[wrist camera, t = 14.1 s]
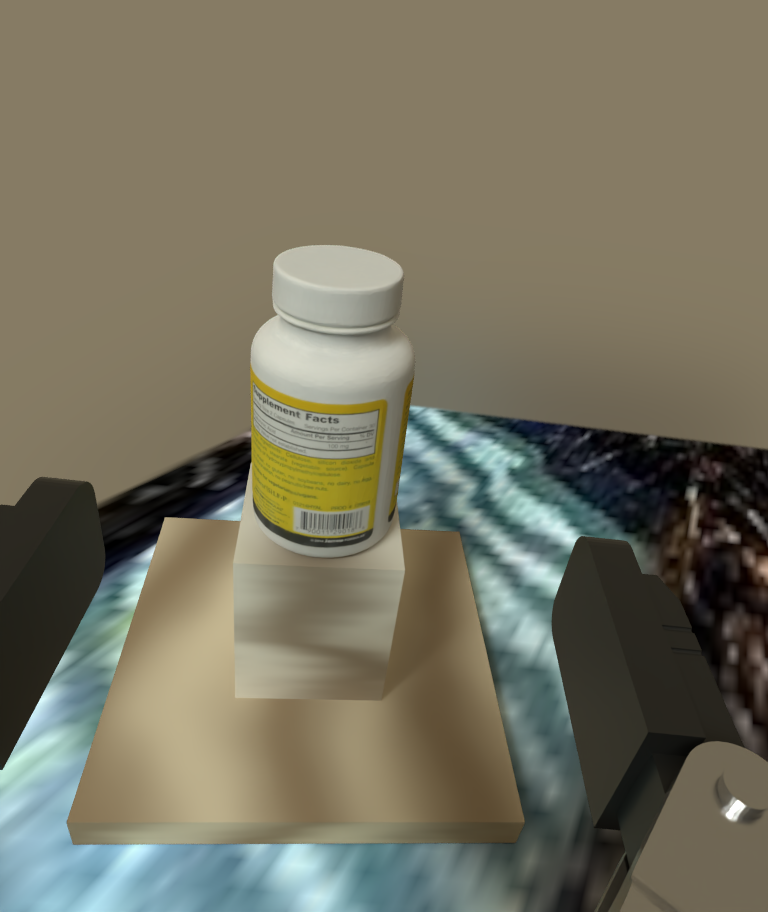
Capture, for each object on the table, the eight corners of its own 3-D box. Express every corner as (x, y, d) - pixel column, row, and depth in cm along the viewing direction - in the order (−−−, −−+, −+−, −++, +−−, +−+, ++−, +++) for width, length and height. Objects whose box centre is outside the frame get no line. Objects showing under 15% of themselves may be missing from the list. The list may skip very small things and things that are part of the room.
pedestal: (454, 551, 38) (485, 417, 33) (515, 842, 25) (582, 694, 20) (167, 538, 37) (154, 394, 32) (73, 844, 24) (25, 682, 19)
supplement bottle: (322, 457, 29) (338, 227, 24) (420, 518, 26) (465, 274, 21) (220, 510, 25) (212, 254, 20) (323, 587, 23) (346, 314, 17)
